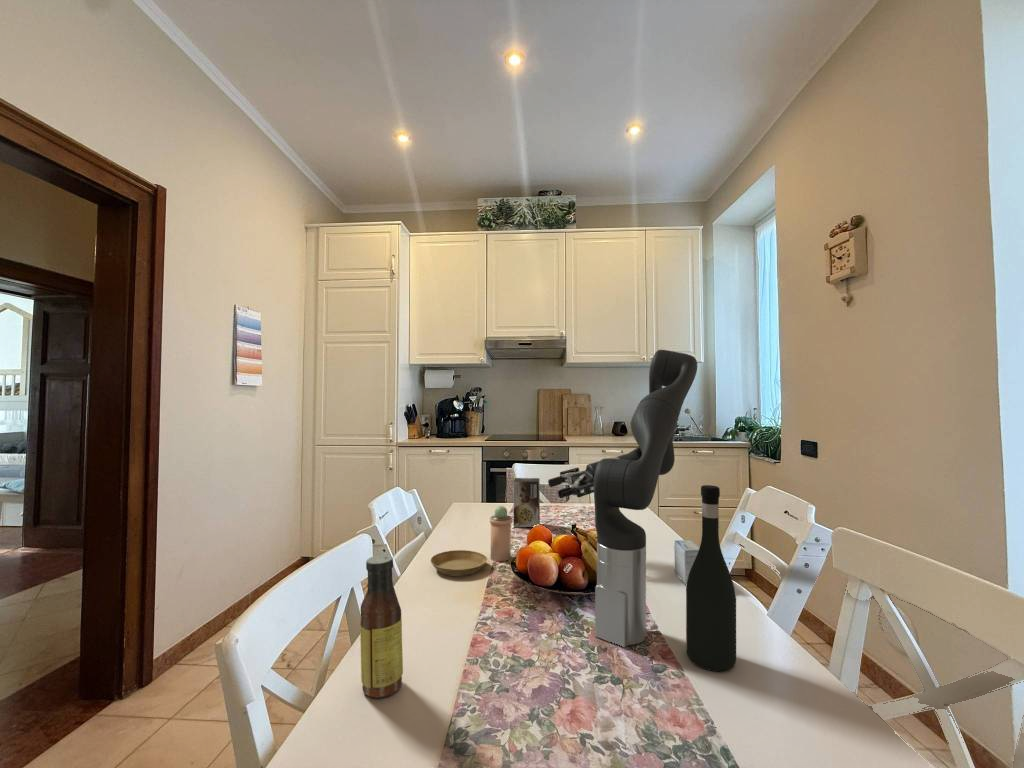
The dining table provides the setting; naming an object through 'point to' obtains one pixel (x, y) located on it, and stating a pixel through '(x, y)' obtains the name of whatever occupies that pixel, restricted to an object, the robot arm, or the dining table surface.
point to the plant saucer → (458, 562)
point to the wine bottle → (710, 596)
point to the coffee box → (526, 502)
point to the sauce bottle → (381, 631)
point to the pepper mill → (500, 535)
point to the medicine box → (684, 558)
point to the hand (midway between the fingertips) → (553, 488)
